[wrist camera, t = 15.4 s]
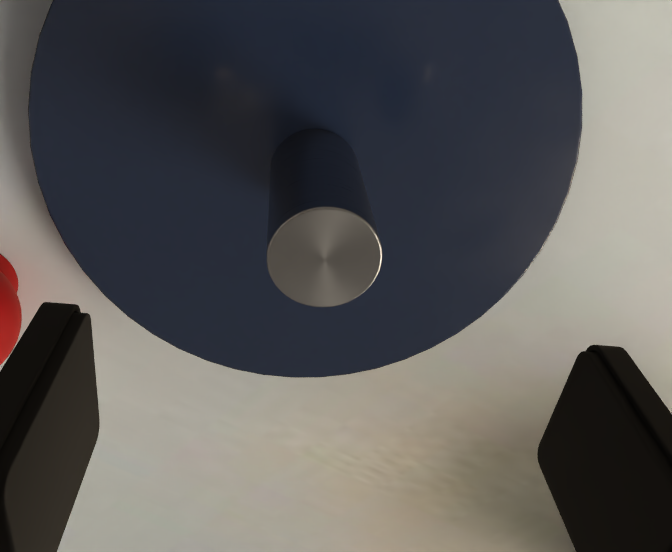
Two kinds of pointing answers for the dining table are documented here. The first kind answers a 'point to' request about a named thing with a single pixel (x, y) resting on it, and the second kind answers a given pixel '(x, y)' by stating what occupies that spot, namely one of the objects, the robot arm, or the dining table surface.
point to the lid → (305, 166)
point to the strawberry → (8, 309)
